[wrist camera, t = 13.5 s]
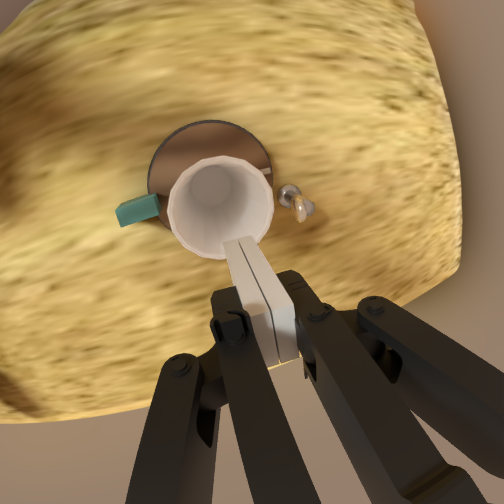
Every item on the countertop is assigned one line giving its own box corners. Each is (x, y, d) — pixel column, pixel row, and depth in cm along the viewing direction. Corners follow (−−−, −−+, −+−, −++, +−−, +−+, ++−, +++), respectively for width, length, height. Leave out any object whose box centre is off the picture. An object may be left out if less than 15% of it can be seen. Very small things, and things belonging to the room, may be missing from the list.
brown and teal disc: (107, 154, 33) (97, 157, 29) (256, 111, 35) (264, 109, 31) (144, 261, 40) (140, 275, 37) (279, 222, 43) (288, 231, 39)
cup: (191, 137, 34) (192, 138, 22) (259, 166, 37) (292, 182, 25) (163, 206, 36) (152, 240, 25) (229, 230, 40) (247, 273, 28)
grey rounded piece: (275, 187, 41) (296, 200, 33) (297, 182, 42) (322, 194, 34) (279, 209, 43) (300, 227, 35) (301, 203, 43) (326, 220, 35)
